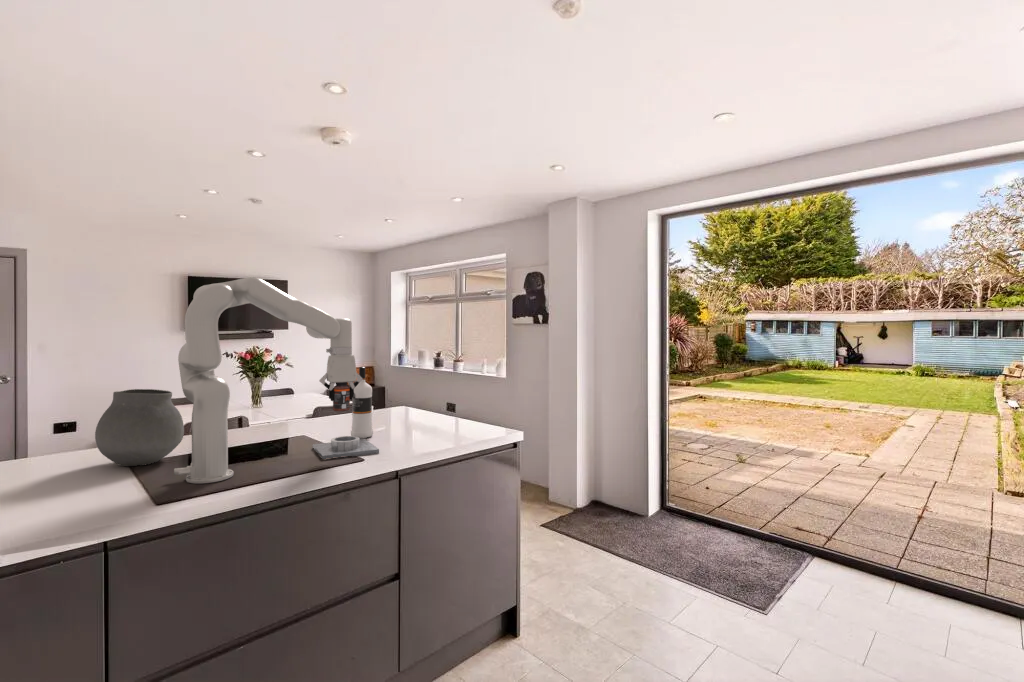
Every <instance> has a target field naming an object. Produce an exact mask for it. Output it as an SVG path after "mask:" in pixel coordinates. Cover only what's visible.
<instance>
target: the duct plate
mask: <svg viewBox="0 0 1024 682" xmlns="http://www.w3.org/2000/svg"><path fill="white" fill-rule="evenodd" d="M313 448H314V449H313ZM312 449H313V451H314V452H315V451H316V452H317V453H318V454H319V455H320V456H321V457H320V456H319V455H318V454H317V453H316V452H315V453H316V454H317V455H318V456H319V457H320V459H321V458H322V459H326V458H333V457H341V456H352V457H359V456H367V455H368V456H369V455H374V454H375V453H377V454H380V449H379V448H378V447H377V446H375V445H374V444H373V443H371V442H370V441H369V440H367V438H359V437H355V436H351V435H342V436H336V437H333V438H331V439H330V442H321V443H313V444H312ZM375 455H376V454H375ZM322 459H321V460H322Z"/></svg>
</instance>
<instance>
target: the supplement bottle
mask: <svg viewBox="0 0 1024 682" xmlns="http://www.w3.org/2000/svg"><path fill="white" fill-rule="evenodd" d="M333 390H334V401H332V409H333V411H334V412H347V411H349V410H350V409H351V408H350V407H351V404H350V403H351V400H350V386H349V384H348V382H343V383H335V385H334V387H333Z"/></svg>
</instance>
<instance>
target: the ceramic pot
mask: <svg viewBox="0 0 1024 682" xmlns="http://www.w3.org/2000/svg"><path fill="white" fill-rule="evenodd" d="M112 394H113V395H112V402H111V403H110V405H109V406H108V408H107V409H106V410H104V412H103V413H102V415H101V417H100V418H99V420H98V422H97V424H96V428H95V432H94V439H95V444H96V447H97V449H98V451H99V452H100V453H101V454H102V456H104V457H105V458H107V460H110V461H111V462H113V463H115V464H116V465H119V466H123V467H137V465H140V466H146V465H145V464H148V465H151V463H152V464H155V463H157V462H159V461H161V460H163V459H164V458H165V457H167V456H168V455H169V454H171V452H173V450H175V449H176V448H177V447H178V446H179V445H180V443H181V442H182V440H183V438H184V434H185V426H184V420H183V417H182V415H181V412H180V411H179V409H178V408H177V407H176V406H175V404H174V403H173V402H172V397H173V392H172V391H171V390H164V389H153V388H151V389H149V388H144V389H143V388H135V389H134V388H133V389H127V390H121V391H118V390H117V391H113V393H112ZM154 462H155V463H154Z"/></svg>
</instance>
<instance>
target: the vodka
mask: <svg viewBox="0 0 1024 682" xmlns="http://www.w3.org/2000/svg"><path fill="white" fill-rule="evenodd" d="M358 371H359V372H358V374H359V375H360V376H361V377H362V378H363V380H362V381H361V382H360V383H359V384H358V385H357V386H356V387H355V389H354V397H352V400H351V401H352V403H351V405H352V406H351V407H352V409H351V410H352V411H351V412H352V413H351V416H352V419H351V430H350V436H355V437H359V439H368V438H367V437H369V438H371V437H372V436H373V435H374V429H373V419H372V417H373V409H372V407H373V400H372V399H373V398H372V397H373V388H372V386H371V385H370V384H369V383H367V382H366V366H360V367H358Z"/></svg>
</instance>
